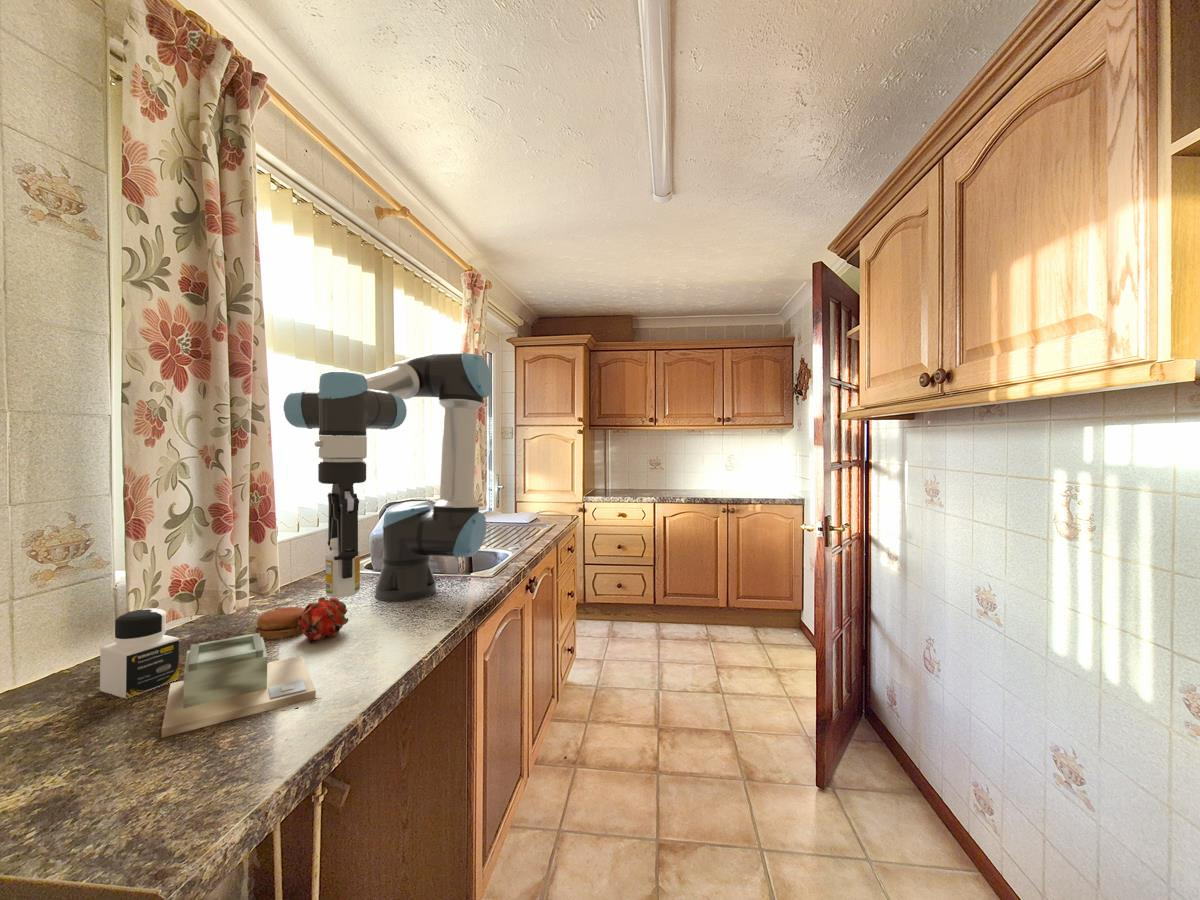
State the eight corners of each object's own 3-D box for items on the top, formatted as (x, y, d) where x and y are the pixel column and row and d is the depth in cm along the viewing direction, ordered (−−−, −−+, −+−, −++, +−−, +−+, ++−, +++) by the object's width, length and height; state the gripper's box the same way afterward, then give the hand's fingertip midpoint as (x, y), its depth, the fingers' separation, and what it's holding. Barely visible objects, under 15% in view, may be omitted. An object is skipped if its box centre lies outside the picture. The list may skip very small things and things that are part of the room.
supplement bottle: (365, 588, 90) (365, 535, 90) (351, 597, 85) (351, 541, 85) (335, 588, 90) (335, 535, 90) (319, 597, 85) (319, 541, 85)
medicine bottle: (126, 700, 76) (127, 621, 76) (98, 691, 78) (99, 615, 78) (179, 680, 82) (180, 608, 82) (152, 673, 85) (153, 603, 85)
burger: (285, 642, 99) (285, 618, 99) (243, 639, 100) (244, 616, 100) (319, 625, 109) (319, 604, 109) (281, 623, 110) (281, 602, 110)
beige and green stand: (301, 662, 90) (302, 622, 90) (315, 697, 77) (316, 651, 77) (170, 690, 79) (171, 645, 79) (161, 737, 66) (162, 683, 66)
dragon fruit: (339, 632, 108) (315, 664, 97) (305, 612, 107) (275, 641, 95) (362, 602, 108) (340, 630, 96) (328, 581, 106) (301, 607, 95)
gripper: (310, 459, 92) (310, 583, 92) (328, 462, 78) (327, 610, 78) (354, 458, 97) (354, 576, 97) (379, 462, 82) (378, 601, 82)
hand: (342, 591), depth 87 cm, fingers closed on supplement bottle, 5 cm apart
